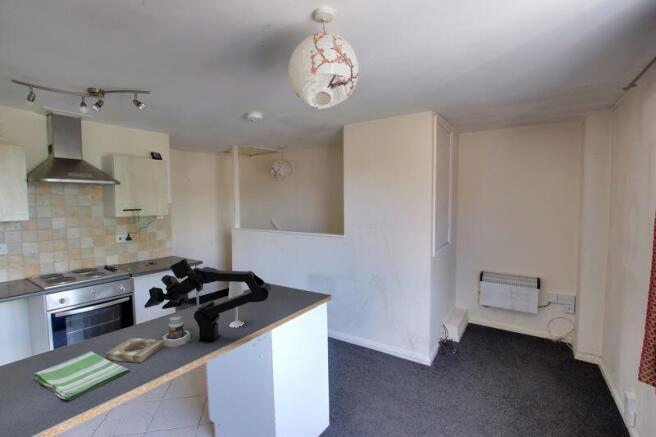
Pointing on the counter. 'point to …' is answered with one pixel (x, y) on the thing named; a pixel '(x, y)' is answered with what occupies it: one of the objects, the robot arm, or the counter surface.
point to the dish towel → (79, 375)
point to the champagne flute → (234, 291)
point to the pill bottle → (176, 327)
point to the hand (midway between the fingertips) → (153, 307)
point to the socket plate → (136, 356)
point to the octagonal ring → (178, 341)
